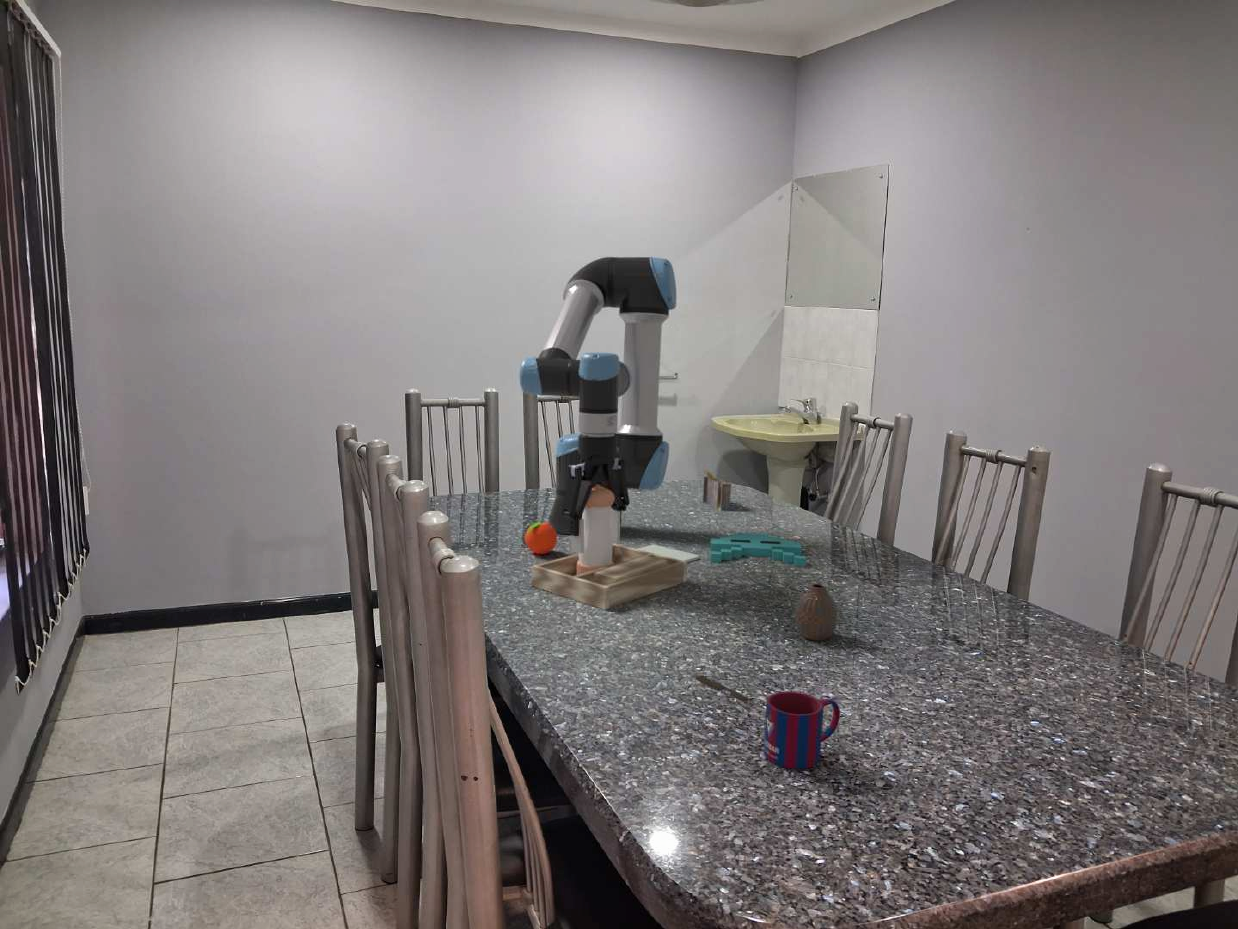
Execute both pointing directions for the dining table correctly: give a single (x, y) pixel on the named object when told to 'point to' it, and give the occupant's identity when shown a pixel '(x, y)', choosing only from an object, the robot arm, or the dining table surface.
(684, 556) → the mat
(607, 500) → the salt shaker
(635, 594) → the rack
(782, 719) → the mug
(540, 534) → the clementine
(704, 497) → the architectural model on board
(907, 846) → the dining table surface
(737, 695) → the thin brown sliver
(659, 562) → the upper offcut
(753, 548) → the alien figure
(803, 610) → the vase
